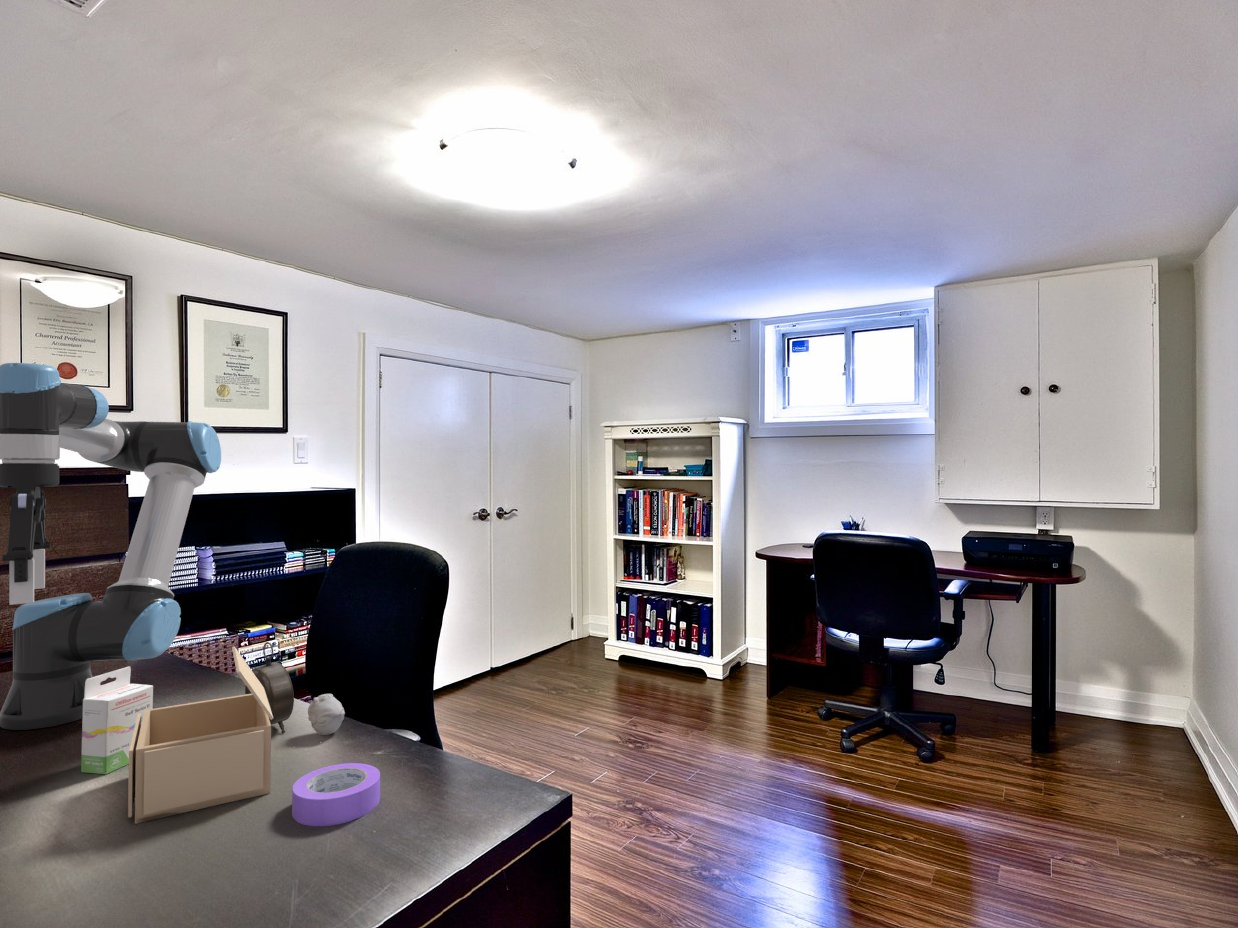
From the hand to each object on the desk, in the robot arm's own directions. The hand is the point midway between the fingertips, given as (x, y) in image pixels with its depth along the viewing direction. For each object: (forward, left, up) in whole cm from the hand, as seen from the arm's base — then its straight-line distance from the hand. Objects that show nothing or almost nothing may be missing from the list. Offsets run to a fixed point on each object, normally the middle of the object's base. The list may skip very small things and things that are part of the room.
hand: (28, 595), depth 105 cm
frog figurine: (+7, +43, -28) cm, 52 cm away
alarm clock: (-1, +34, -28) cm, 44 cm away
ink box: (+2, +12, -29) cm, 31 cm away
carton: (+18, +24, -28) cm, 41 cm away
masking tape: (+36, +40, -29) cm, 61 cm away
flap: (+18, +32, -18) cm, 41 cm away
